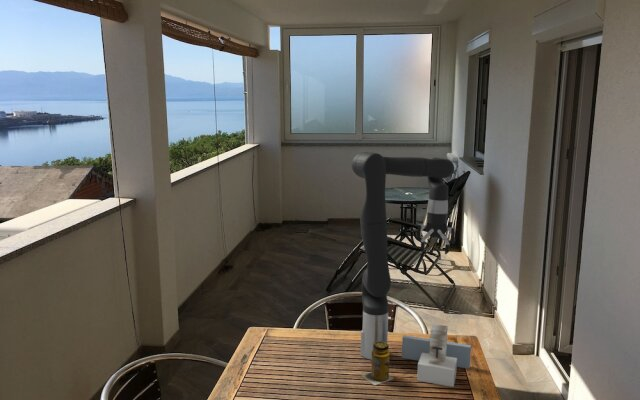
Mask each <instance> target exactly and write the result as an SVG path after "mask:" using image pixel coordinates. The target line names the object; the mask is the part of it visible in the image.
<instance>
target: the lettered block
mask: <svg viewBox="0 0 640 400" xmlns="http://www.w3.org/2000/svg"><path fill="white" fill-rule="evenodd" d="M448 327H449V326H448V325H443V324H435V323H432V324H431V328H430V334H429V335H430V336H429V339H430V354H429V363H431V364H437V365H443V366H444V364H445V361H446V348H447V342H448V340H447V339H448Z"/></svg>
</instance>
